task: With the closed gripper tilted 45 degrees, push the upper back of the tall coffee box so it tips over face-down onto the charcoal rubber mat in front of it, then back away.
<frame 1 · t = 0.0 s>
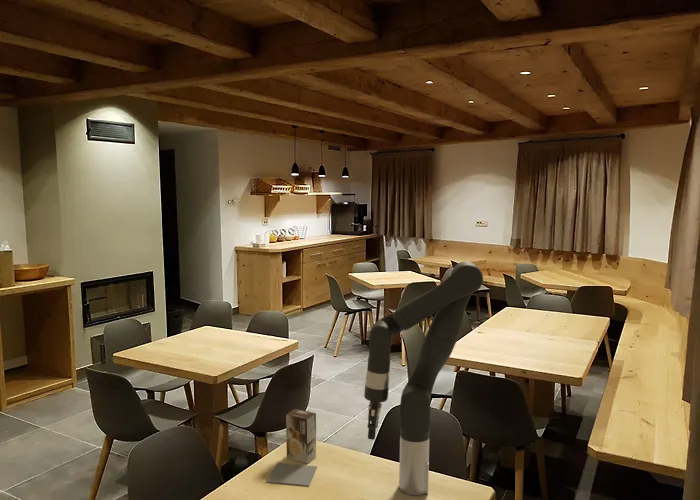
hand: (372, 432, 167), 17 cm above the table, tool pointing down, fingers open, 8 cm apart
coffee box: (301, 457, 185), on the table
rubber mat: (292, 474, 174), on the table
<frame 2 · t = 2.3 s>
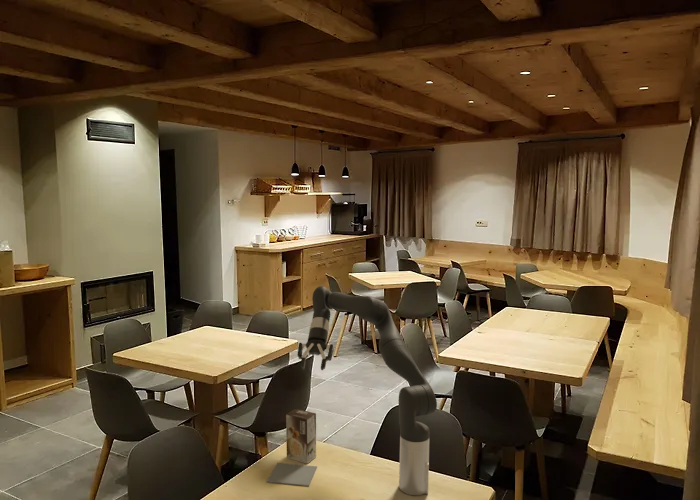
hand: (312, 368, 200), 27 cm above the table, tool tilted 45°, fingers open, 7 cm apart
nothing on the table moved.
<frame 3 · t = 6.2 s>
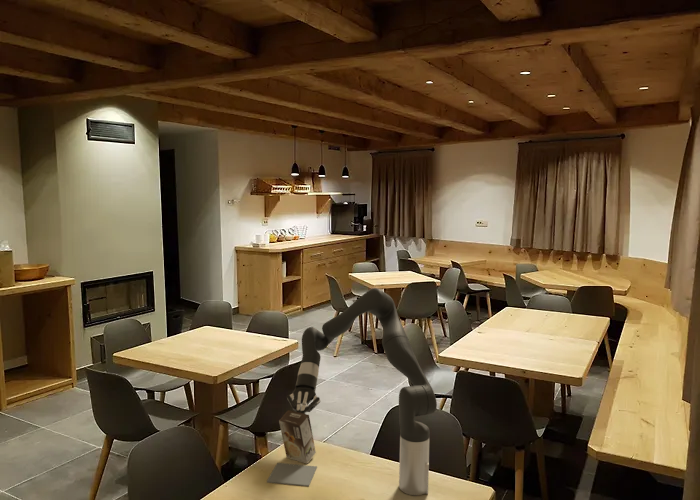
hand: (298, 422, 185), 12 cm above the table, tool tilted 45°, fingers closed
coffee box: (301, 455, 185), point 1 cm above the table, touching gripper
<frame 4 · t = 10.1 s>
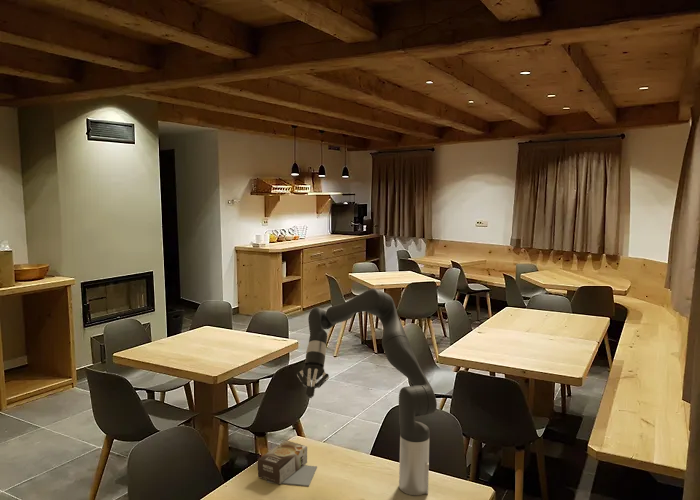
hand: (309, 397, 194), 18 cm above the table, tool tilted 45°, fingers closed
coffee box: (296, 450, 182), point 4 cm above the table, touching rubber mat
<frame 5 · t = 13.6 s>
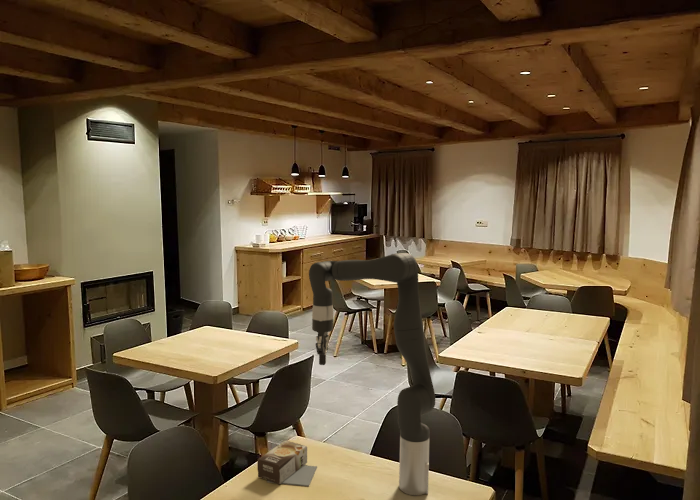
hand: (322, 364, 188), 32 cm above the table, tool pointing down, fingers closed
nothing on the table moved.
at the end: coffee box tilted 90°; coffee box touching rubber mat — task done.
